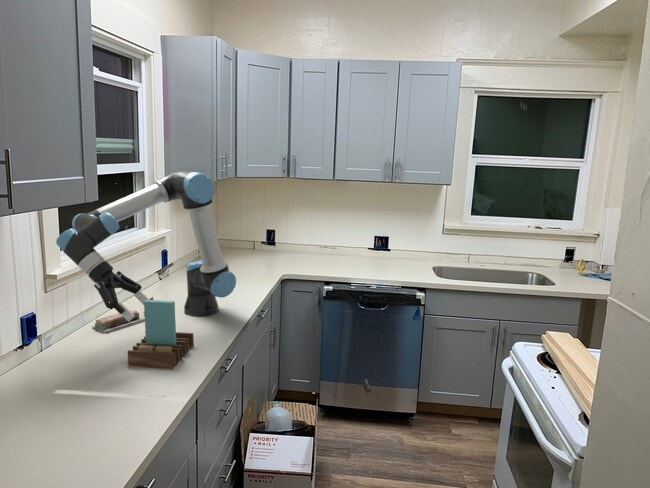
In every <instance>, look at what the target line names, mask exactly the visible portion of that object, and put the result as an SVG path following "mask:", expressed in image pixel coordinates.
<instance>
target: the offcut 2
mask: <svg viewBox="0 0 650 488" xmlns="http://www.w3.org/2000/svg"><path fill="white" fill-rule="evenodd" d="M155 352H172V347H171V346H157V347H156V348H155Z"/></svg>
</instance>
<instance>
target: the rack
mask: <svg viewBox="0 0 650 488" xmlns="http://www.w3.org/2000/svg"><path fill="white" fill-rule="evenodd" d="M194 343H195V342H194V333H193V332H179V331H178V332H177V331H176V345H170V344H151V343H146V335H145V336H143V338H141V339H140V342H136V345H133V346H132V349H131V350H130V349H128V350H127V363H128V364H127V366H126V367H127V368H138V369H139V368H140V369H141V368H143V369H157V370H159V369H160V370H162V369H163V370H174V369H175V368H176V367H177V366H178V365H179V364H180V363H181V361H182V360H184V358H185V357H186V355H187V354H188V353H190V351H191V350H192V348H194V346H195V345H194ZM140 345H152V346H155V348H156V347H157V346H171V347H172V352H155V351H138V347H139V346H140Z"/></svg>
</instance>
